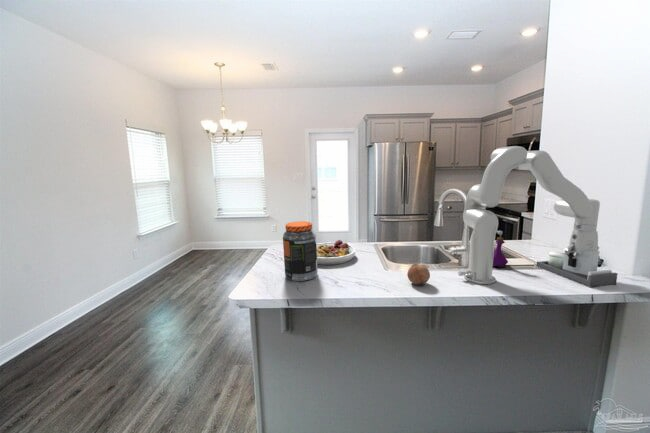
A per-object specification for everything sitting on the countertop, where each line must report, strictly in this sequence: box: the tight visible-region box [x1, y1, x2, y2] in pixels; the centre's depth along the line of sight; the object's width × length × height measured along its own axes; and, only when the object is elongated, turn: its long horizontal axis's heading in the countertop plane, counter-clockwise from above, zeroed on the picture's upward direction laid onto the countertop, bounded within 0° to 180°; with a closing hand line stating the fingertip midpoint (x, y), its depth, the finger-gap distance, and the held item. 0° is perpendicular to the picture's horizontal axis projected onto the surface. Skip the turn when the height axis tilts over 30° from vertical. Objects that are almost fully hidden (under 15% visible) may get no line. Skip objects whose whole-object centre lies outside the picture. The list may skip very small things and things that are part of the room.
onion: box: [406, 263, 431, 287], centre depth 130 cm, size 10×9×10 cm
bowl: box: [316, 239, 356, 266], centre depth 170 cm, size 30×30×8 cm
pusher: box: [587, 269, 613, 280], centre depth 125 cm, size 10×1×5 cm, turn 99°
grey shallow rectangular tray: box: [535, 260, 618, 288], centre depth 136 cm, size 13×26×5 cm, turn 9°
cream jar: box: [547, 250, 565, 270], centre depth 144 cm, size 7×7×7 cm
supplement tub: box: [282, 220, 318, 282], centre depth 142 cm, size 16×16×26 cm
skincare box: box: [563, 246, 600, 276], centre depth 133 cm, size 10×6×10 cm, turn 29°
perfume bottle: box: [493, 230, 509, 268], centre depth 150 cm, size 8×8×18 cm
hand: (579, 265), depth 133 cm, fingers closed on skincare box, 7 cm apart
